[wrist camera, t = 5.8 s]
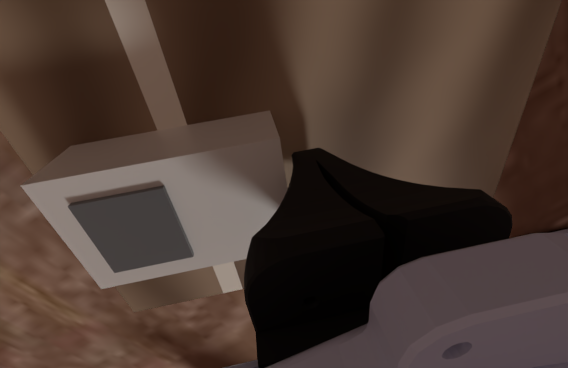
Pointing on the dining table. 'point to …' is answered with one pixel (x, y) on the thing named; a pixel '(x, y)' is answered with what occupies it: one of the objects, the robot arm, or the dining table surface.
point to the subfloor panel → (277, 85)
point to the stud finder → (164, 197)
